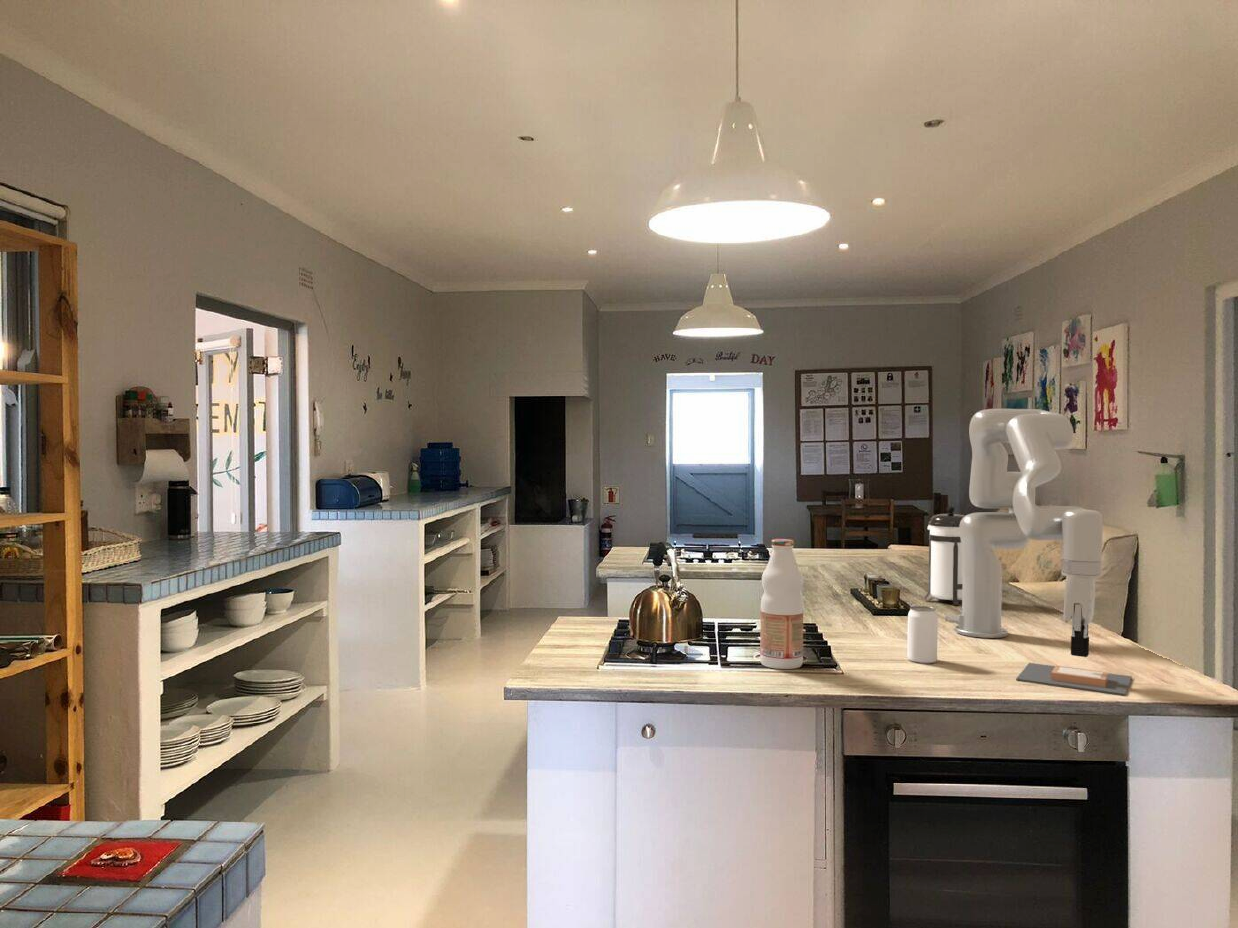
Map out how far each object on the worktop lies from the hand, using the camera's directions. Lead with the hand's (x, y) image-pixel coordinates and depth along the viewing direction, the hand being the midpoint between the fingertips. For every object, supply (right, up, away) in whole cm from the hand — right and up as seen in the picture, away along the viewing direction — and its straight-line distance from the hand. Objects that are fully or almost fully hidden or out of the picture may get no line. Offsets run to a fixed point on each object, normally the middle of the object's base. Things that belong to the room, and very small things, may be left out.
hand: (1079, 655), depth 187 cm
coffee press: (+8, -3, +91) cm, 91 cm away
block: (+2, -4, +2) cm, 5 cm away
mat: (-1, -5, +1) cm, 5 cm away
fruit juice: (-60, -5, +12) cm, 62 cm away
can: (-27, -5, +17) cm, 33 cm away
